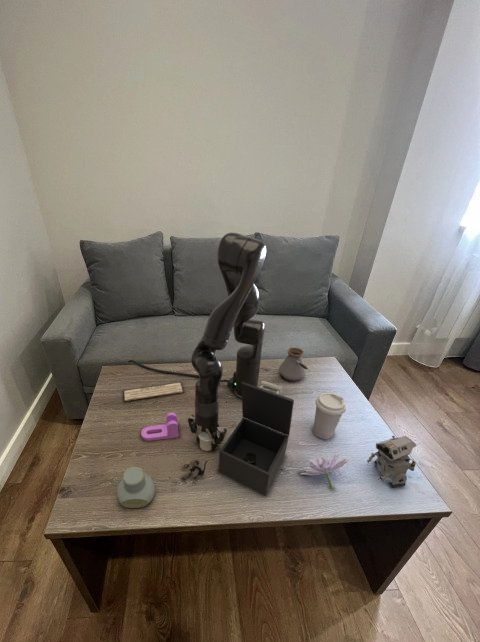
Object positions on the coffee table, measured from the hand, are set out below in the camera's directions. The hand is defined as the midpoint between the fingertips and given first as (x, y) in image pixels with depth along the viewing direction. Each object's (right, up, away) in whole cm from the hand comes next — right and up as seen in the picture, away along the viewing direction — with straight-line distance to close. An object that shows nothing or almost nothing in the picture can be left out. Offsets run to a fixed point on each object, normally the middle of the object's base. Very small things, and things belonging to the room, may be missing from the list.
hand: (206, 445), depth 109 cm
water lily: (+35, -6, -10) cm, 37 cm away
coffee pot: (+39, +19, +28) cm, 51 cm away
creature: (-5, -6, -9) cm, 12 cm away
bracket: (-17, +3, +5) cm, 18 cm away
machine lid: (+17, +14, -13) cm, 26 cm away
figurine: (+53, -6, -11) cm, 55 cm away
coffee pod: (0, 0, 0) cm, 0 cm away
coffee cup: (+41, +3, +4) cm, 42 cm away
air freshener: (-21, -11, -15) cm, 28 cm away
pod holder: (+13, -5, -8) cm, 16 cm away
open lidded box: (+14, -4, -7) cm, 16 cm away
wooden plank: (-21, +15, +24) cm, 36 cm away
